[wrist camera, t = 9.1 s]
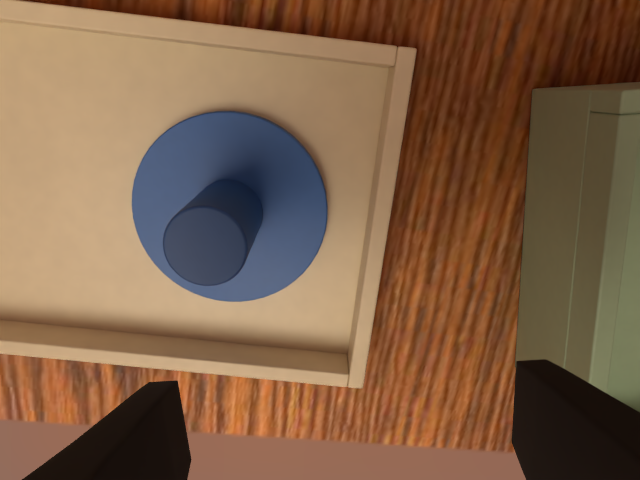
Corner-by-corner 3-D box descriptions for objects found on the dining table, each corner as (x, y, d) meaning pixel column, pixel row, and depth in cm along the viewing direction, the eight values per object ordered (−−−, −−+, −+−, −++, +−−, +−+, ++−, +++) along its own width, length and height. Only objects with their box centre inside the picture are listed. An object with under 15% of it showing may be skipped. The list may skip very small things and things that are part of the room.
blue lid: (332, 290, 19) (336, 351, 15) (153, 301, 19) (104, 364, 15) (321, 104, 17) (321, 110, 13) (121, 117, 17) (52, 128, 13)
